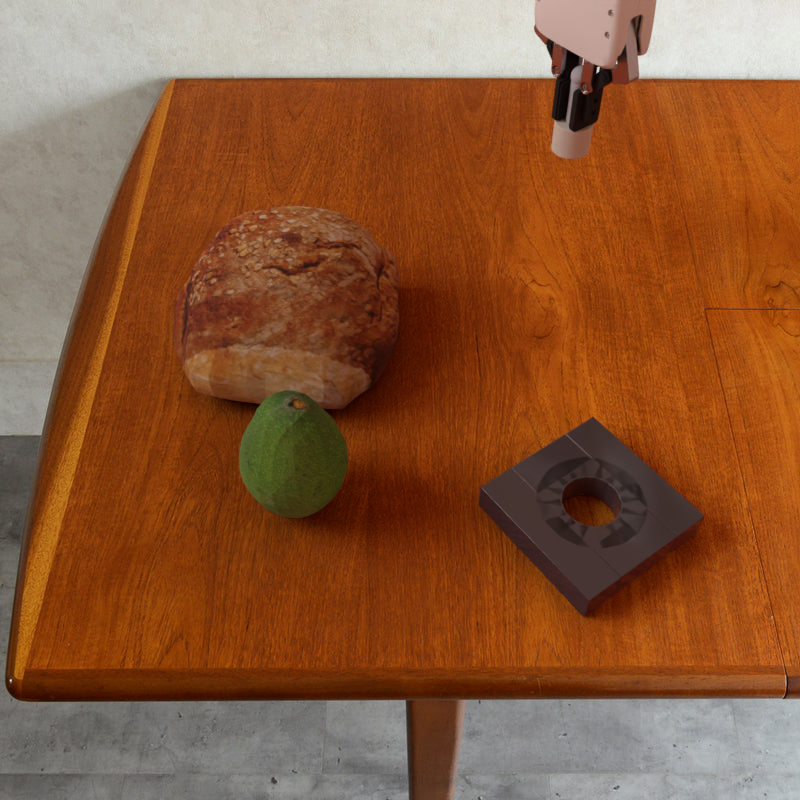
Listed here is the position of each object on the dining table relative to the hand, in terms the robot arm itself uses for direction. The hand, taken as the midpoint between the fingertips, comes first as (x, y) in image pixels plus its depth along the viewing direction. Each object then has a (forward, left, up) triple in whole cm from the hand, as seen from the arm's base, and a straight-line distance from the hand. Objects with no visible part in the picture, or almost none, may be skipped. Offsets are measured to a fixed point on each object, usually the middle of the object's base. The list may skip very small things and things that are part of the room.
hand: (574, 119), depth 83 cm
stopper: (0, 0, -3) cm, 3 cm away
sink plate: (+22, +28, -13) cm, 38 cm away
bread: (+31, -2, -13) cm, 34 cm away
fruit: (+39, +13, -13) cm, 43 cm away
